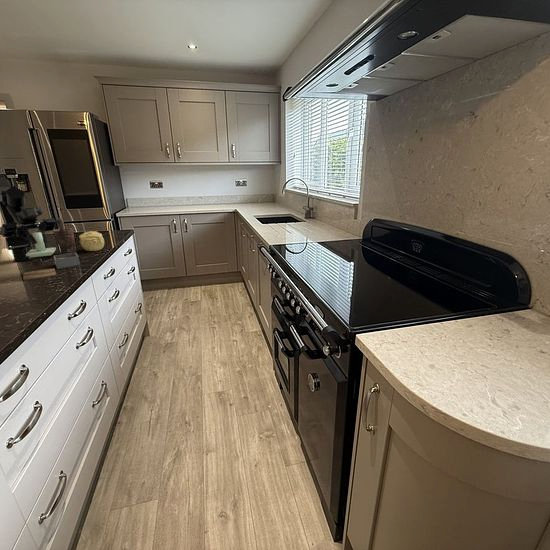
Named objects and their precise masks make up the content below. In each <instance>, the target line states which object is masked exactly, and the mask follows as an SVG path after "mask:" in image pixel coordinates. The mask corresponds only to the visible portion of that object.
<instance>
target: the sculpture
mask: <svg viewBox="0 0 550 550" xmlns="http://www.w3.org/2000/svg"><path fill="white" fill-rule="evenodd" d="M78 238H79V243H80V246H81V247H82V248H83V249H84V250H85V251H87V252H97V251H101V250H102V249H103V248H104V246H105V239H104V237H103V234H102V233H100V232H98V231H92V230H90V231H85V232H83V233H82V234H80V235H79V236H78Z"/></svg>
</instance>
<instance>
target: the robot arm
mask: <svg viewBox="0 0 550 550" xmlns="http://www.w3.org/2000/svg"><path fill="white" fill-rule="evenodd" d="M26 199H27V195H26V193H25V191H24V190H22V189H21V188H18V187H17V186H15V185H11V182H10V180H9V179H8V178H7V176H6V175H3V174H0V211H1V215H2V217H3V220H4V223H2V225H1V228H0V235H1V236H2V237H3V238H4V242H5V247H6V249H7V250H8V251H10V250H11V253H12V256H13V263H17V262H26V261H31V257H30V256H26V254H27V253H28V252H29V251H28V249H27V248H30V247H32V244H34V245H35V244H36V243H37V242H36V240H35V239H34V238H33V236H32V233H30V230H36V232H41V233H42V237H43V241H44V243H46V242H47V238H46V234H45V233H46V232H53V231H54V230H55V227H56V225H57V222H56V220H55V218H42V221H41V222H37V221H38V217H39V216H41V215H42V214H43V211H42V209H41V208H40V207H39V206H36V207H32V208H26V207H25V206H26ZM31 243H32V244H31Z"/></svg>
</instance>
